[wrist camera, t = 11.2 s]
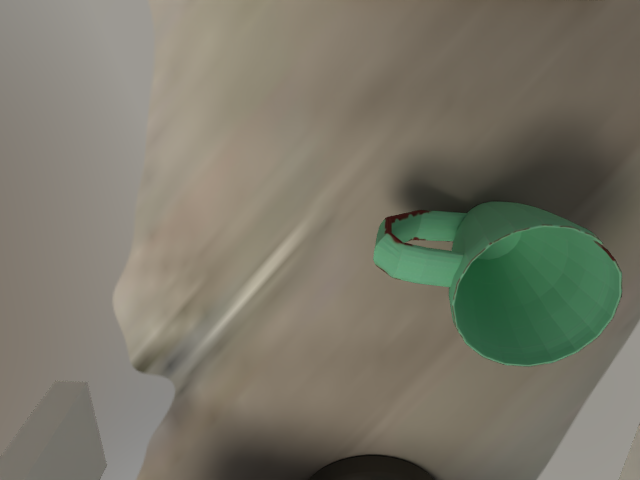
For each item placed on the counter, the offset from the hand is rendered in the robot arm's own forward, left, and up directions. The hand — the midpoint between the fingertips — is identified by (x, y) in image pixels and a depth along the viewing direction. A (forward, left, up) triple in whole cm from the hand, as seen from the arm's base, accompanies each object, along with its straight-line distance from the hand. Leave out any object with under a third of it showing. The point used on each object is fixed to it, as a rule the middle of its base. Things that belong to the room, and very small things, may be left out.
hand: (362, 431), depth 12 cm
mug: (-6, -9, -27) cm, 29 cm away
